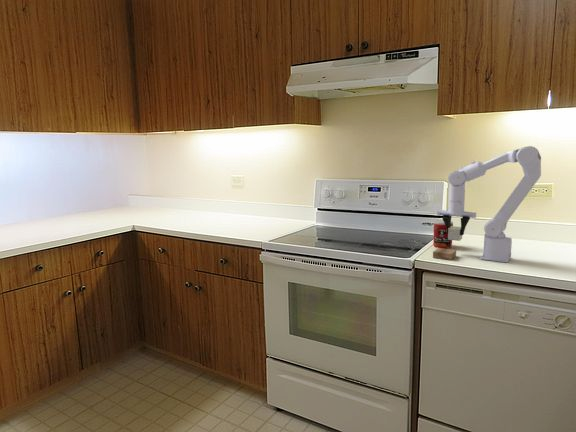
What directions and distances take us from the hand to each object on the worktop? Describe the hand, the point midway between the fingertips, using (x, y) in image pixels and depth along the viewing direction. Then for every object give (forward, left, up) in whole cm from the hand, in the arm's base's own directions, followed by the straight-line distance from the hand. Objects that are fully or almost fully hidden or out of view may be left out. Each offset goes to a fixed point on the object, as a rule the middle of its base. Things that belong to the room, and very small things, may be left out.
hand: (455, 234), depth 168 cm
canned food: (+8, -10, -8) cm, 15 cm away
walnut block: (+2, +7, -8) cm, 11 cm away
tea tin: (0, 0, -2) cm, 2 cm away
